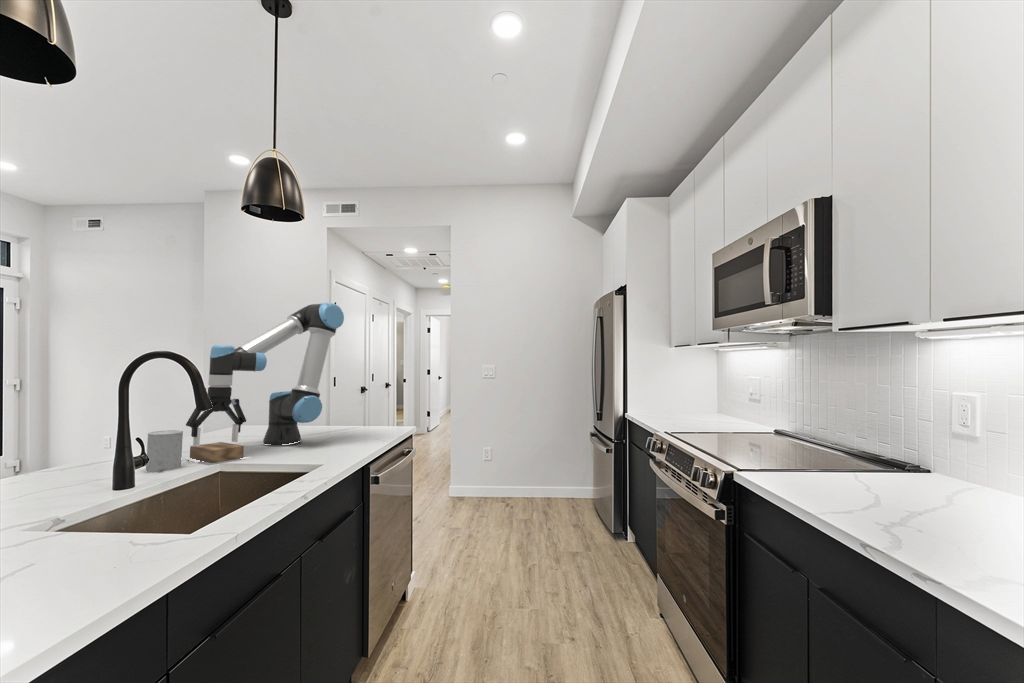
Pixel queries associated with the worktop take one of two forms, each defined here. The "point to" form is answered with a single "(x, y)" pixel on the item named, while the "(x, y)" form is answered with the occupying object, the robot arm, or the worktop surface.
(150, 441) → the grey speckled cylinder
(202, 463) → the mat
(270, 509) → the worktop surface
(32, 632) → the worktop surface
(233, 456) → the board
